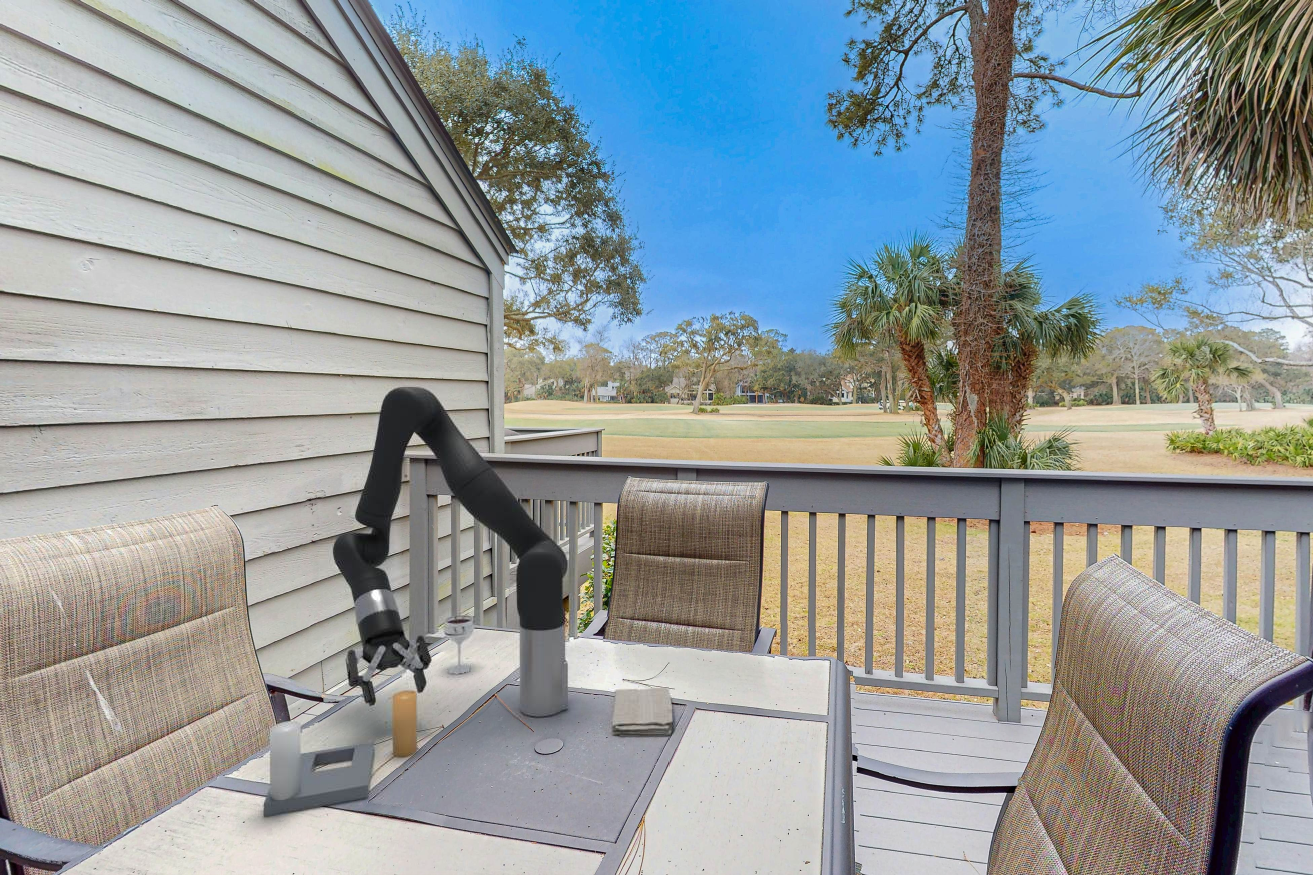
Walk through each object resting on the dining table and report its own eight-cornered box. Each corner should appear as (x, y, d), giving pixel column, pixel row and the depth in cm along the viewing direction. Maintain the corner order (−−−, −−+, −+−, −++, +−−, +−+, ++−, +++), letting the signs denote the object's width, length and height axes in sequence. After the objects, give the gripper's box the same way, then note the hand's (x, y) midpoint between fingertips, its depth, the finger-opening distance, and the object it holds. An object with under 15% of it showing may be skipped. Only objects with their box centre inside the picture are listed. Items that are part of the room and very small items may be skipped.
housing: (374, 753, 111) (374, 685, 111) (367, 797, 98) (367, 720, 98) (283, 767, 106) (282, 697, 106) (263, 816, 93) (262, 736, 93)
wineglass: (461, 677, 144) (461, 625, 144) (437, 673, 146) (437, 621, 146) (480, 666, 150) (480, 616, 150) (456, 662, 153) (456, 613, 152)
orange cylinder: (417, 743, 114) (416, 688, 114) (416, 754, 111) (416, 698, 110) (393, 747, 113) (392, 692, 113) (392, 758, 109) (391, 701, 109)
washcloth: (611, 740, 117) (611, 723, 117) (613, 698, 135) (613, 683, 135) (675, 738, 117) (675, 722, 117) (668, 697, 135) (668, 682, 135)
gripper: (342, 615, 116) (360, 698, 108) (420, 601, 125) (442, 677, 117) (335, 636, 120) (351, 717, 112) (410, 621, 129) (431, 696, 121)
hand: (397, 696), depth 114 cm, fingers open, 8 cm apart
